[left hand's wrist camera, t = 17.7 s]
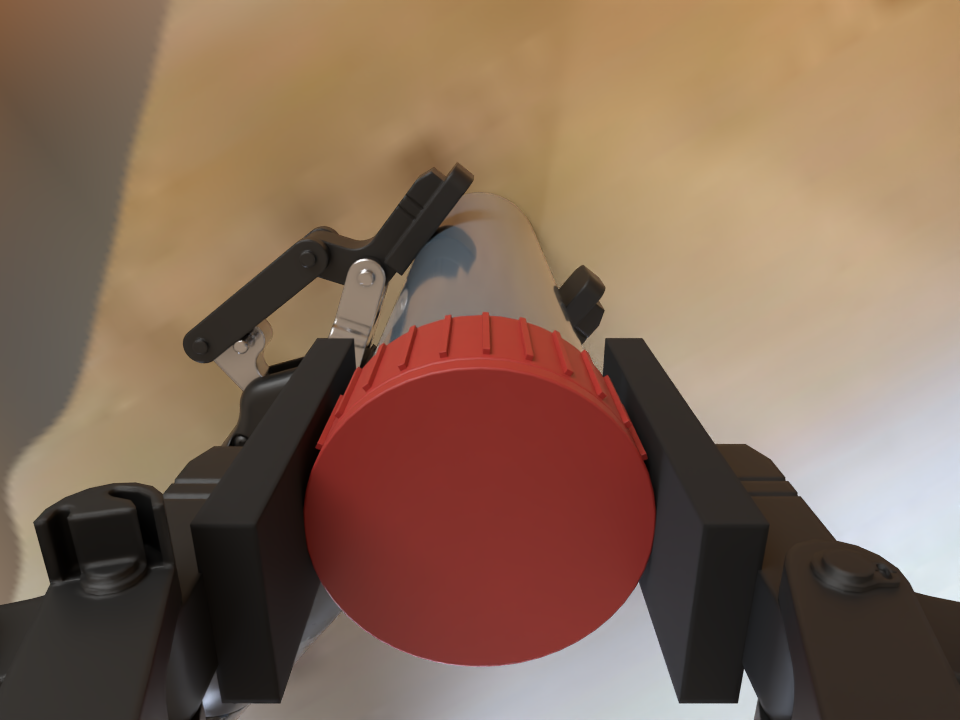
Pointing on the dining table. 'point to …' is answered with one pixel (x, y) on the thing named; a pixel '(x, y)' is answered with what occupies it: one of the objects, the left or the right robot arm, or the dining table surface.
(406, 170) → the dining table surface
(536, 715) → the dining table surface
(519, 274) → the bottle
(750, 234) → the dining table surface
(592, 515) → the lid
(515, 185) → the dining table surface
